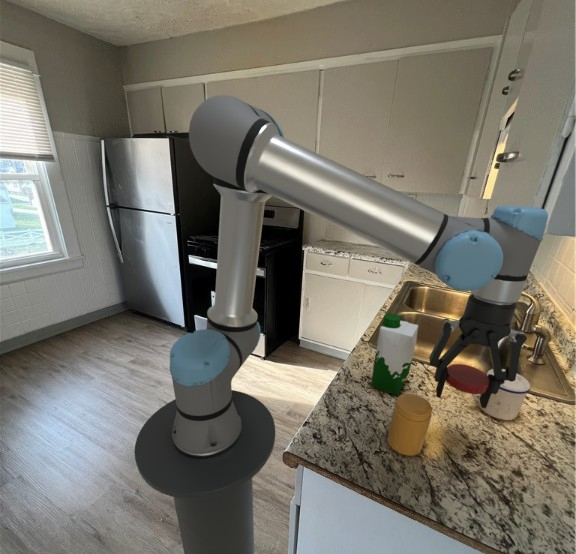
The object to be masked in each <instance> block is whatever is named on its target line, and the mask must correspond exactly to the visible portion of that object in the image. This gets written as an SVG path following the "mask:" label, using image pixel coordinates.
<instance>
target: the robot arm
mask: <svg viewBox="0 0 576 554" xmlns="http://www.w3.org/2000/svg"><path fill="white" fill-rule="evenodd" d="M188 141H189V147H190V149H191V152H192V154H193V157H194V158H195V160H196V162H197V163H198V165H199V166H200V167H201V168H202V169H203V170H204V171H205V172H206V173H207V174H209V175H210V176H212V177H213V187H215V189H216V190H217V192H218V193H219V195H220V209H219V223H218V224H219V225H218V241H217V242H218V243H217V260H216V277H215V293H214V304H213V305H212V306H210V307H209V308H208V309H207V312H206V313H207V314H206V315H207V316H206V328H205V329H198V330H194V331H193V332H192V333H191V332H188V333H186V334H184V335H182V336H180V337H179V338H178V339H177V340H176V341H175V342H174V343H173V345H172V346H171V349H170V351H169V372H170V375H171V380H172V386H173V387H172V388H173V394H174V400H175V399H176V405H177V413H176V416H175V420H174V424H173V429H172V438H173V443H174V446H175V447H176V449H177V450H178V451H179V452H180V453H182V454H183V455H185V456H187V457H191V458H197V459H205V458H211V457H215V456H218V455H220V454H223V453H224V452H226V451H228V450H229V449H230V448H232V447H233V446H234V445H235V444H236V442H237V441H238V440H239V438H240V435H241V432H242V422H241V418H240V415H239V414H240V413H238V410H236V407H235V406H234V403H233V401H232V390H233V389H232V381H233V379H234V377H235V376H236V374H237V373H238V372H239V371H240V369H241V368H242V366H243V365H244V364H245V362H246V361H247V360H248V358H249V357H250V355H252V354H253V353H254V351H255V350H256V348H257V347H258V345H259V342H260V339H261V325H260V322H259V321H258V313H257V311H256V310H255V309H254V308H253V305H254V304H253V303H254V296H255V288H256V279H257V272H258V262H259V255H260V248H261V247H260V246H261V239H262V232H263V231H262V230H263V221H264V214H265V206H266V202H267V201H268V200H269V199H270V198H271V197H274V198H276V199H279V200H281V201H283V202H286V203H287V204H289V205H292V206H294V207H296V208H298V209H299V210H302V211H304V212H305V213H307V214H311V215H312V216H314V217H317V218H319V219H321V220H323V221H324V222H327V223H329V224H331V225H334V226H336V228H337V227H338V228H339V229H341V230H344V231H346V232H348V233H350V234H352V235H354V236H356V237H358V238H361V239H362V240H364V241H367V242H369V243H371V244H373V245H375V246H377V247H379V248H382V249H383V250H385V251H388V252H389V253H392V254H394V255H396V256H398V257H400V258H402V259H404V260H405V261H409V262H410V263H412V264H414V265H416V266H418V267H419V268H421V269H424V270H426V271H428V272H430V273H432V274H434V275H436V277H437V278H438V279H439V280H440V281H441V283H443V284H445V285H446V286H447V287H449V288H451V289H453V290H456V291H461V292H469V291H470V293H471V294H470V295H469V296H468V298H467V302H466V305H465V307H464V311H463V315H462V316H461V317H460V318H459V319H458V320H450V319H449V318H447V317H446V318H444V319H443V320H442V330H441V332H440V333H439V336H438V338H437V340H436V342H435V343H434V345H433V349H432V351H431V352H430V354H429V357H428V358H429V366H433V367H435V368H436V369H435V372H434V382H436V383H437V384H436V388H435V395H436V398H439V399H441V397H442V393H443V392H444V387H445V384H446V378H447V374H448V369H447V367H448V366H450V365H451V363H453V361H454V360H455V359H456V358H457V357H458V356H459V355H460V354H461V353H462V351H463V350H465V349H466V348H468V347H469V346H470V345H480V346H483V347H486V348H488V350H489V355H490V361H491V366H492V369H493V372H494V376H493V375H492V374H488V377H489V379H490V383H489V387H488V390H487V391H486V392H485V393H482V394H481V396H480V399H479V400H480V404H481V407H482V408H486V407H487V404H488V401H489V399H490V396H491V393H492V394H497V393H498V390H499V388H500V385H501V384H504V382H505V381H506V380H509V381H511V382H513V381H515V379H516V374H518V368H519V361H520V356H521V351H522V347H523V346H524V344H525V343H526V342H527V340H528V337H527V335H526V334H525V332H524V331H523V329H512V328H511V323H512V320H513V318H514V315H515V312H516V309H517V308H518V307H517V306H518V305H517V302H519V301H520V300H521V297H522V294H523V291H524V288H525V285H526V282H527V279H528V276H529V273H530V270H531V268H532V265H533V263H534V260H535V258H536V255H537V253H538V250H539V247H540V245H541V242H543V240H544V234H545V231H546V228H547V223H548V219H549V213H548V212H547V210H546V209H544V208H541V207H534V206H523V205H498V206H496V207H495V208H494V210H493V213H492V214H491V215H490V217H481V218H480V217H467V216H452V215H449V214H446V213H445V212H443V211H440V210H438V209H436V208H434V207H432V206H430V205H428V204H426V203H424V202H421V201H419V200H418V199H415V198H413V197H411V196H409V195H407V194H404V193H402V192H400V191H398V190H396V189H394V188H392V187H389V186H388V185H386V184H383V183H381V182H379V181H377V180H375V179H373V178H371V177H368V176H367V175H364V174H362V173H360V172H358V171H356V170H353V169H351V168H349V167H347V166H346V165H343V164H341V163H340V162H336V161H334V160H332V159H330V158H328V157H326V156H324V155H322V154H319V153H318V152H315V151H313V150H311V149H309V148H308V147H305V146H303V145H301V144H299V143H296V142H295V141H292V140H290V139H288V138H286V137H285V134H284V131H283V130H282V128H281V126H280V125H279V124H278V122H277V121H276V120H275V118H274V117H272V116H271V115H270V113H268V112H267V111H265V110H263V109H262V108H261V109H260V108H258V107H256V106H253V105H252V104H250V103H247V102H245V101H244V100H242V99H240V98H238V97H236V96H233V95H228V94H227V95H225V94H221V95H219V94H218V95H214V96H211V97H208V98H207V99H205V100H204V101H202V102H201V103H200V104H199V105H198V106H197V108H196V109H195V111H194V112H193V114H192V116H191V119H190V122H189V127H188ZM457 328H459V329H460V331H461V333H460V335H459V336H458V338H457V339H456V341H455V342H454V343H453V344H452V345H451V346H450V347H449V348H448V349H446V351H445V352H444V354H443V351H444V349H445V348H446V345H447V343H448V341H449V339H450V337H451V334H452V333H454V332H455V330H456V329H457ZM507 337H508V339H509V344H508V350H507V358H506V363H505V364H506V365H505V371H502V369H503V368H502V363H501V357H500V349H499V343H498V342H500V341H501V340H503V339H505V338H507ZM442 354H443V355H442ZM441 355H442V356H441Z"/></svg>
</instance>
